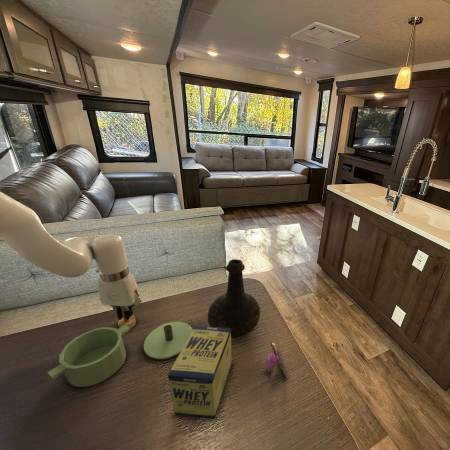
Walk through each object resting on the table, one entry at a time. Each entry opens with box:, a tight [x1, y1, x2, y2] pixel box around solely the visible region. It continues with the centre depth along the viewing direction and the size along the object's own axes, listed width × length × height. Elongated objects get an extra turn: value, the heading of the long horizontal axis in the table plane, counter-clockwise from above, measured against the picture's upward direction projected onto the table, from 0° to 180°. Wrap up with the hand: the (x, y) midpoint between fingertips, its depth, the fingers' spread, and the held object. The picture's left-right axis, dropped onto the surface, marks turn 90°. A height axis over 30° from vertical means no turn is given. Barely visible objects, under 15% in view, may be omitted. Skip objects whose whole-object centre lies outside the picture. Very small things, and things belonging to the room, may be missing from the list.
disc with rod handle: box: [117, 306, 137, 329], centre depth 85 cm, size 5×5×9 cm
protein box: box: [167, 324, 233, 420], centre depth 66 cm, size 10×16×16 cm
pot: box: [46, 325, 131, 388], centre depth 71 cm, size 14×19×8 cm
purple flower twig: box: [266, 341, 287, 379], centre depth 75 cm, size 7×5×9 cm
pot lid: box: [143, 321, 193, 360], centre depth 81 cm, size 15×15×6 cm
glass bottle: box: [207, 258, 261, 340], centre depth 84 cm, size 18×18×28 cm
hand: (125, 316), depth 85 cm, fingers closed on disc with rod handle
